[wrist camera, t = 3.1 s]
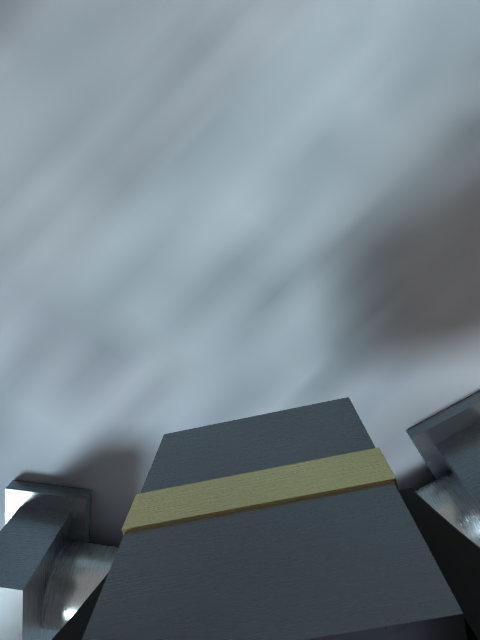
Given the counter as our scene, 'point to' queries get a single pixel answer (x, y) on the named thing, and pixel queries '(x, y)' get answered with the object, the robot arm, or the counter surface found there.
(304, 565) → the block
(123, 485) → the counter surface
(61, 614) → the shaft
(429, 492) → the shaft
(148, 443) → the counter surface
